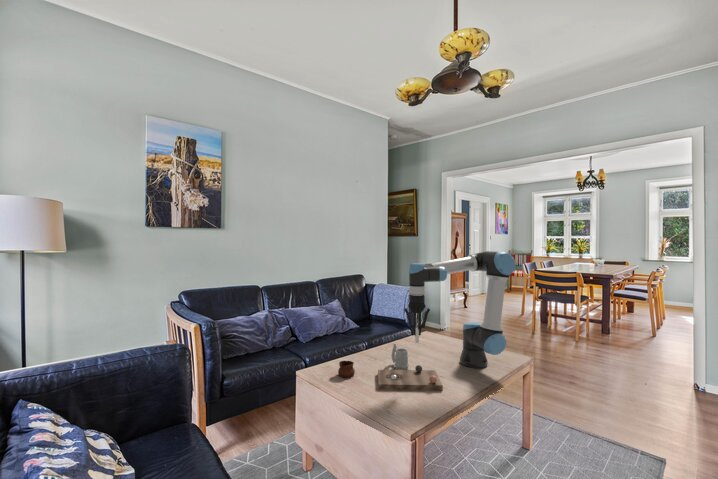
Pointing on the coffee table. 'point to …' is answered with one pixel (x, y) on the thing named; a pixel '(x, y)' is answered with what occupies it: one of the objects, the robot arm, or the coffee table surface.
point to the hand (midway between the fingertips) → (416, 341)
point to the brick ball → (433, 379)
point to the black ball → (418, 368)
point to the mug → (400, 358)
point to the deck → (408, 380)
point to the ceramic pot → (346, 369)
